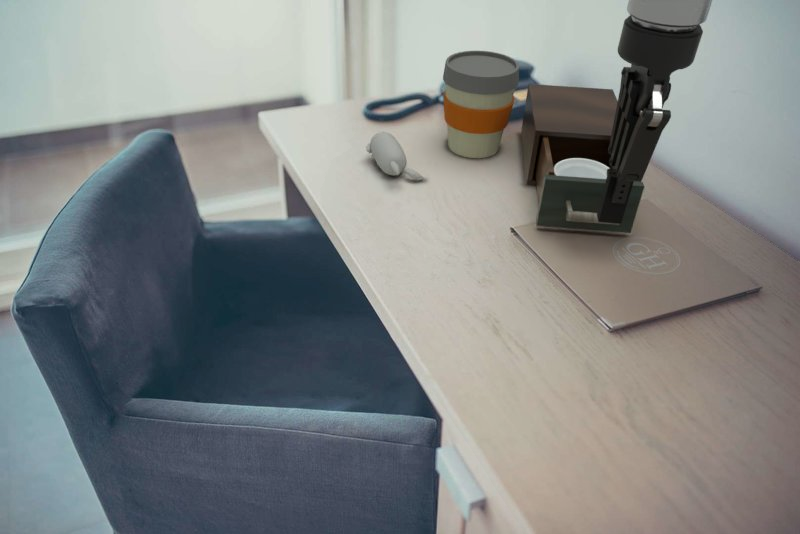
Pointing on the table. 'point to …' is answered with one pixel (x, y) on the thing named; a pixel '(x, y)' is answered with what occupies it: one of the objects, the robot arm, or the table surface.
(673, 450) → the table surface
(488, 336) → the table surface
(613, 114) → the cabinet
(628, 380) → the table surface
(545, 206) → the drawer
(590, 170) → the ramekin
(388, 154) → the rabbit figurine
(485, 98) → the reusable coffee cup
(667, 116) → the robot arm
